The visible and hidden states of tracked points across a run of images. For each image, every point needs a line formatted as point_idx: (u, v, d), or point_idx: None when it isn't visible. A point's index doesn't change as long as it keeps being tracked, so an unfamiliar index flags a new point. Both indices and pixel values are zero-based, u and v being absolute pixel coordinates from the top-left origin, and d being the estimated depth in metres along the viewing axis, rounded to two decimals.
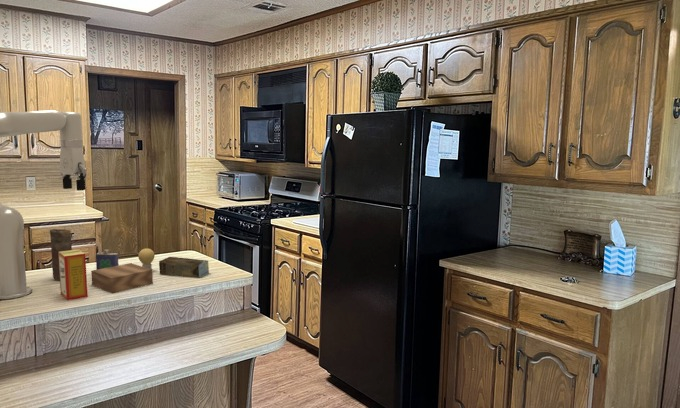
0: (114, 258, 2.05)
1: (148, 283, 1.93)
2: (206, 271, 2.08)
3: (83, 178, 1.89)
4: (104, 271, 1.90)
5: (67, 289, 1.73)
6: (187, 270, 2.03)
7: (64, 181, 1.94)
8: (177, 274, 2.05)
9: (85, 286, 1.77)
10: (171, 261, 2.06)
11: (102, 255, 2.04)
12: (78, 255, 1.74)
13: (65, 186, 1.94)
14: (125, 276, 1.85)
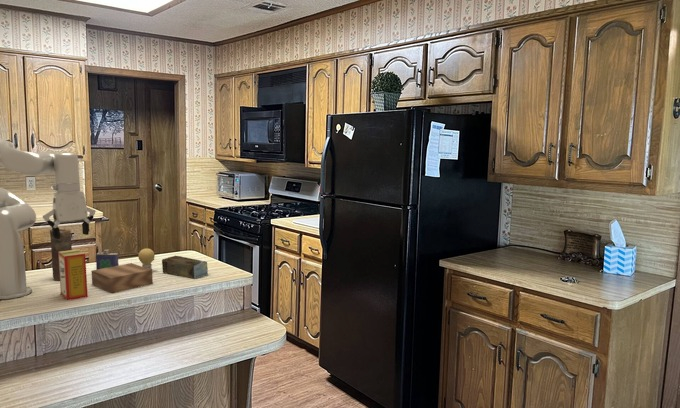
0: (114, 258, 2.05)
1: (148, 283, 1.92)
2: (204, 272, 2.06)
3: None
4: (104, 271, 1.90)
5: (67, 289, 1.73)
6: (184, 270, 2.03)
7: None
8: (176, 273, 2.06)
9: (85, 286, 1.77)
10: (172, 260, 2.08)
11: (102, 255, 2.04)
12: (78, 255, 1.74)
13: None
14: (125, 276, 1.85)
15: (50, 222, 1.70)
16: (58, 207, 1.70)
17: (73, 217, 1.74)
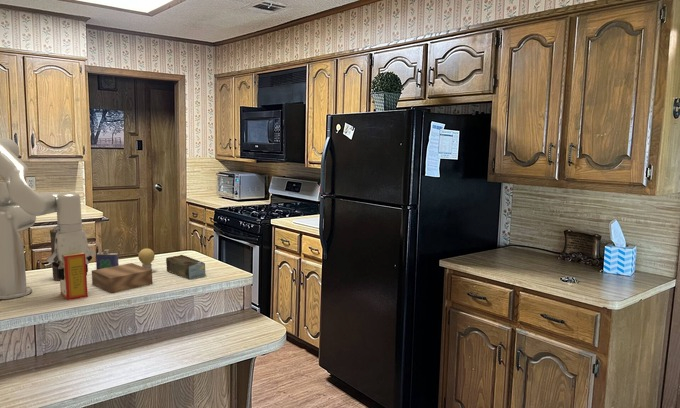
0: (114, 258, 2.05)
1: (148, 283, 1.92)
2: (201, 273, 2.04)
3: None
4: (104, 271, 1.90)
5: (67, 289, 1.73)
6: (182, 270, 2.03)
7: (63, 271, 1.74)
8: (176, 273, 2.07)
9: (85, 286, 1.77)
10: (174, 259, 2.10)
11: (102, 255, 2.04)
12: (78, 255, 1.74)
13: None
14: (124, 276, 1.85)
15: (55, 264, 1.72)
16: (60, 248, 1.72)
17: None
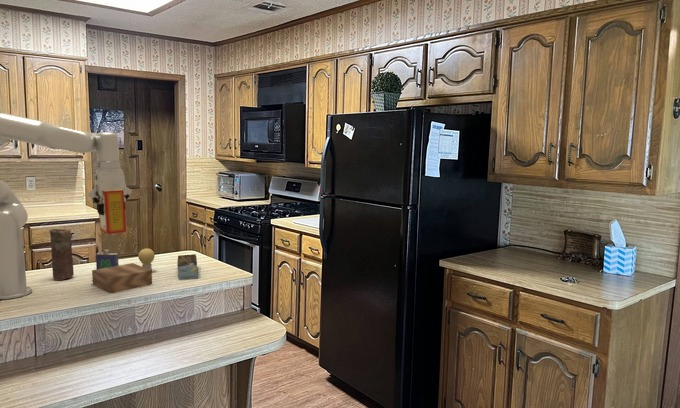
0: (114, 258, 2.05)
1: (147, 283, 1.92)
2: (192, 275, 2.01)
3: None
4: (104, 271, 1.91)
5: (107, 223, 1.82)
6: None
7: (103, 207, 1.83)
8: None
9: (123, 221, 1.85)
10: (181, 257, 2.12)
11: (102, 255, 2.04)
12: (117, 191, 1.83)
13: None
14: (123, 276, 1.85)
15: (95, 199, 1.81)
16: (100, 183, 1.80)
17: None
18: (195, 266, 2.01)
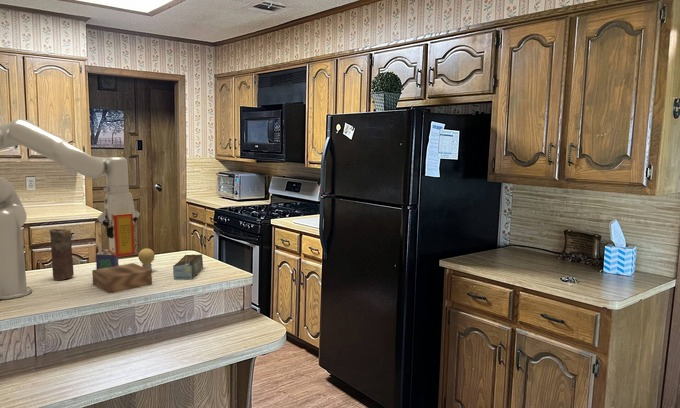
0: (114, 258, 2.05)
1: (147, 284, 1.92)
2: (187, 276, 2.00)
3: None
4: (104, 271, 1.91)
5: (116, 246, 1.85)
6: None
7: (112, 230, 1.87)
8: None
9: (132, 244, 1.89)
10: (185, 257, 2.13)
11: (102, 255, 2.04)
12: (126, 215, 1.87)
13: None
14: (123, 276, 1.85)
15: (105, 222, 1.85)
16: (110, 207, 1.84)
17: None
18: (189, 267, 2.00)
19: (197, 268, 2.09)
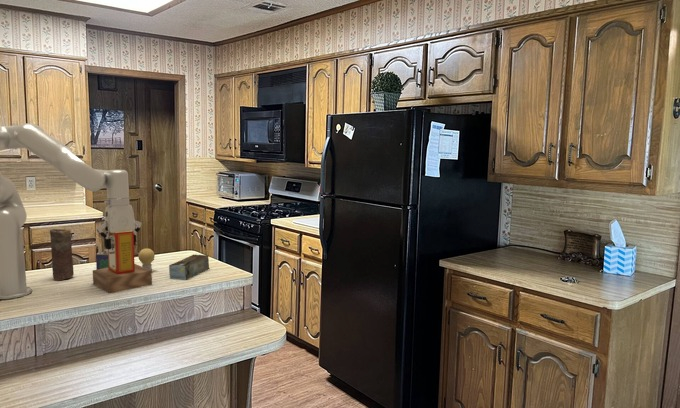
0: None
1: (147, 284, 1.92)
2: (181, 276, 2.00)
3: None
4: (104, 271, 1.91)
5: (117, 264, 1.86)
6: None
7: (110, 241, 1.86)
8: None
9: (132, 261, 1.90)
10: (189, 257, 2.13)
11: (102, 255, 2.04)
12: (127, 232, 1.88)
13: None
14: (123, 277, 1.85)
15: (103, 234, 1.84)
16: (110, 220, 1.85)
17: (123, 229, 1.88)
18: (183, 267, 1.99)
19: (197, 269, 2.08)
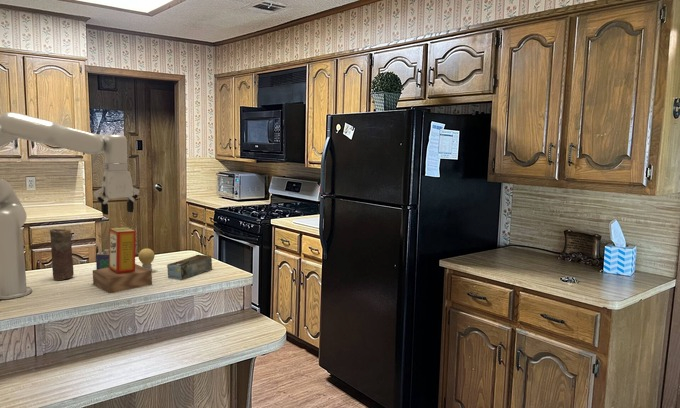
0: None
1: (147, 284, 1.92)
2: (177, 276, 2.00)
3: None
4: (104, 271, 1.91)
5: (118, 263, 1.87)
6: None
7: (107, 206, 1.85)
8: None
9: (133, 261, 1.90)
10: (192, 257, 2.14)
11: (102, 255, 2.04)
12: (129, 232, 1.88)
13: None
14: (123, 277, 1.85)
15: (100, 198, 1.83)
16: (108, 185, 1.83)
17: (120, 195, 1.87)
18: (179, 267, 1.99)
19: (196, 269, 2.07)
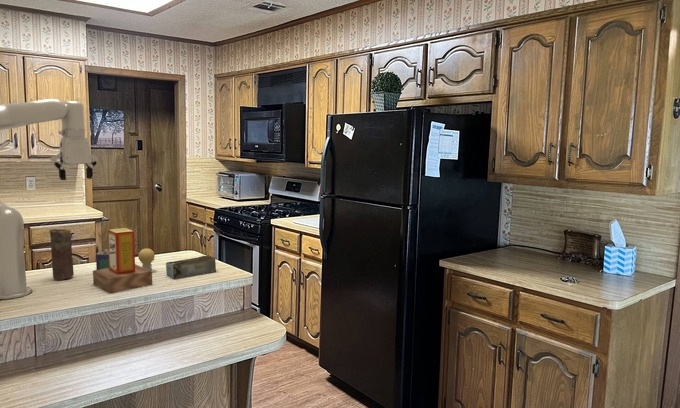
0: None
1: (147, 284, 1.92)
2: (171, 275, 2.01)
3: None
4: (105, 271, 1.91)
5: (117, 263, 1.86)
6: None
7: (65, 172, 1.87)
8: None
9: (133, 261, 1.90)
10: (198, 257, 2.13)
11: (102, 255, 2.04)
12: (128, 232, 1.88)
13: None
14: (123, 277, 1.85)
15: (57, 164, 1.85)
16: (65, 150, 1.85)
17: (78, 161, 1.89)
18: (172, 266, 2.00)
19: (193, 270, 2.05)
